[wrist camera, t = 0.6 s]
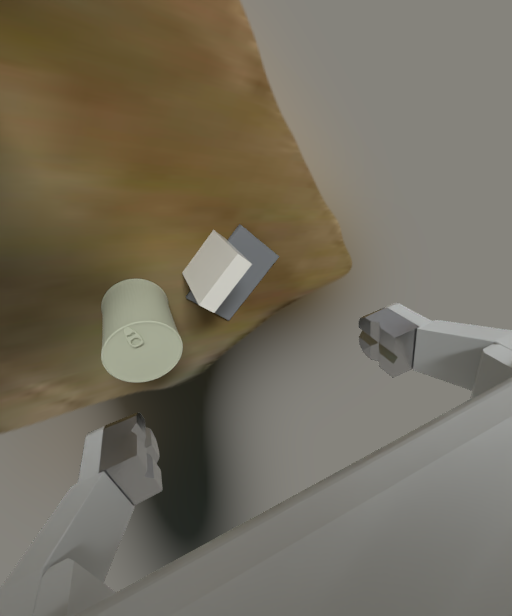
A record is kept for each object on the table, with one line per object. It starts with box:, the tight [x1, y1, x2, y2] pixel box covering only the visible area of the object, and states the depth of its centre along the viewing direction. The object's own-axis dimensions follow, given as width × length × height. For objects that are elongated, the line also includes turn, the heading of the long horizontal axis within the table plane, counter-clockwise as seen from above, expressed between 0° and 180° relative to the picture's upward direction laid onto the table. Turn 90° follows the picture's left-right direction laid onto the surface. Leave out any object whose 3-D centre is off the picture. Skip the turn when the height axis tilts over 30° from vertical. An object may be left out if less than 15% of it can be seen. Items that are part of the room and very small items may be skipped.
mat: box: [186, 224, 279, 320], centre depth 48 cm, size 9×14×1 cm, turn 138°
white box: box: [182, 230, 252, 313], centre depth 40 cm, size 3×8×10 cm, turn 138°
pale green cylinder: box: [101, 279, 183, 383], centre depth 39 cm, size 9×9×12 cm
